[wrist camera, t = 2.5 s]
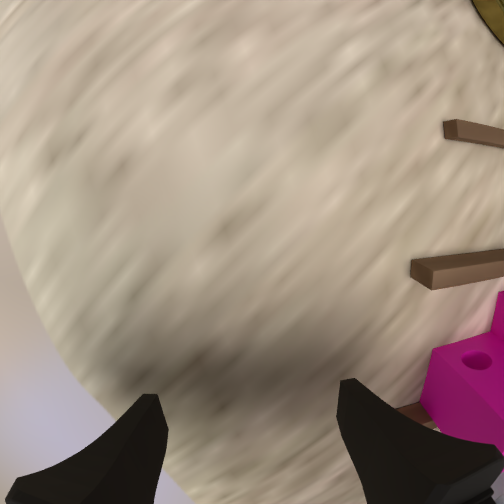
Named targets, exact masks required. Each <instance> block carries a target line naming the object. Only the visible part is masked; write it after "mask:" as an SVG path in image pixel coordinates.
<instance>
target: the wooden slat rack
mask: <svg viewBox="0 0 504 504" xmlns="http://www.w3.org/2000/svg"><path fill="white" fill-rule="evenodd" d="M444 132H445V139H450V140H458V141H464V142H471V143H477V144H483V145H489V146H494V147H499V148H504V130H503V129H499V128H495V127H491V126H487V125H482V124H478V123H473V122H468V121H463V120H458V119H454V120H450V121H445V122H444ZM499 277H504V249H499V250H491V251H483V252H475V253H466V254H458V255H449V256H441V257H432V258H423V259H414V260H412V264H411V278H413V279H414V280H416V281H418V282H419V283H421V284H422V285H424V286H425V287H427V288H429V289H430V290H437V289H442V288H448V287H454V286H459V285H464V284H470V283H475V282H480V281H485V280H490V279H494V278H499ZM396 410H397V411H399V412H400V413H402V414H404V415H405V416H407V417H409V418H410V419H412V420H414V421H416V422H418V423H420V424H422V425H424V426H426V427H428V428H430V429H434V428H437V425H436V424H435V422H434V421H433V420H432V418H431V417H430V416H429V414H428V413H427V411H426V410H425V409H424V407H423V406H422V405H421V403H420V402H419V403H415V404H412V405H409V406H405V407H402V408H398V409H396Z"/></svg>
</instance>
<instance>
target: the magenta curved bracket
mask: <svg viewBox="0 0 504 504" xmlns="http://www.w3.org/2000/svg"><path fill="white" fill-rule="evenodd" d="M419 402H420V403H421V405H422V406H423V407H424V409H425V410H426V411H427V413H428V414H429V416H430V417H431V418H432V420H433V421H434V422H435V424H436V425H437V427H438V428H439V429H440V431H441V432H442V433H443V434H446V435H449V436H452V437H456V438H459V439H464V440H468V441H472V442H479V443H486V444H494V445H495V446H496V447H497V448H498V449H499V451H500V452H501V453H502V454H503V456H504V291H501V292H498V298H497V303H496V308H495V313H494V317H493V322H492V326H491V330H490V332H487V333H484V334H481V335H477V336H474V337H471V338H468V339H465V340H462V341H458V342H455V343H451V344H448V345H444V346H441V347H437V348H433V351H432V355H431V359H430V364H429V368H428V372H427V376H426V380H425V383H424V387H423V390H422V394H421V397H420V401H419ZM502 472H504V469H503V471H502ZM502 472H501V473H502Z"/></svg>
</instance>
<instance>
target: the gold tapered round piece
mask: <svg viewBox="0 0 504 504" xmlns="http://www.w3.org/2000/svg"><path fill="white" fill-rule="evenodd" d="M472 1H473V3H474V4H475V6H476V8H477V10H478V11H479V13H480V15H481V16H482V18H483V19H484V21H485V22H486V23H487V25H488V26H489V28H490V29H491V30H492V31H493V33H494V34H495V35H496V36H497V37H498V39H499V40H500V41H501V42H502V43H503V44H504V0H472Z"/></svg>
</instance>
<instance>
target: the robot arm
mask: <svg viewBox="0 0 504 504" xmlns="http://www.w3.org/2000/svg"><path fill="white" fill-rule="evenodd" d="M336 417H337V421H338V425H339V429H340V432H341V436H342V438H343V441H344V443H345V445H346V448H347V450H348V452H349V455H350V457H351V459H352V461H353V464H354V466H355V468H356V471H357V473H358V475H359V478H360V480H361V483H362V486H363V490H364V493H365V497H366V500H367V504H504V472H502V471H503V469H504V456H503V454H502V453H501V452H500V451H499V449H498V448H497V447H496V446H495V445H494V444H486V443H479V442H472V441H468V440H464V439H459V438H456V437H452V436H449V435H446V434H443V433H441V432H438V431H435V430H433V429H430V428H428V427H426V426H424V425H422V424H420V423H418V422H416V421H414V420H412V419H410V418H409V417H407V416H405V415H404V414H402V413H400V412H399V411H397V410H396V409H394V408H393V407H391V406H390V405H388V404H387V403H386V402H384V401H383V400H382V399H380V398H379V397H378V396H376V395H375V394H374V393H373V392H371V391H370V390H369V389H368V388H367V387H365V386H364V385H363V384H362V383H360V382H359V381H358V380H357V379H355V378H352V379H346V380H341V381H340V389H339V398H338V407H337V415H336ZM168 430H169V429H168V426H167V423H166V420H165V417H164V414H163V410H162V407H161V404H160V401H159V398H158V394H143V395H142V396H141V397H140V398H139V399H138V400H137V401H136V402H135V403H134V404H133V405H132V406H131V407H130V408H129V409H128V410H127V411H126V412H125V413H124V414H123V415H122V416H121V417H120V418H119V419H118V420H117V421H116V422H115V423H114V424H113V425H112V426H111V427H110V428H109V429H108V430H107V431H106V432H104V433H103V434H102V435H101V436H100V437H99V438H97V439H96V440H95V441H94V442H92V443H91V444H90V445H88V446H87V447H85V448H84V449H83V450H81V451H80V452H78V453H76V454H75V455H73V456H71V457H69V458H68V459H66V460H64V461H62V462H60V463H58V464H56V465H54V466H52V467H49V468H47V469H44V470H42V471H39V472H36V473H33V474H29V475H26V476H22V477H18V478H17V479H16V480H15V482H14V484H13V486H12V487H11V489H10V491H9V493H8V495H7V497H6V498H5V502H6V504H154V497H155V492H156V488H157V484H158V480H159V476H160V472H161V468H162V465H163V461H164V457H165V453H166V448H167V440H168ZM501 472H502V473H501Z"/></svg>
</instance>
